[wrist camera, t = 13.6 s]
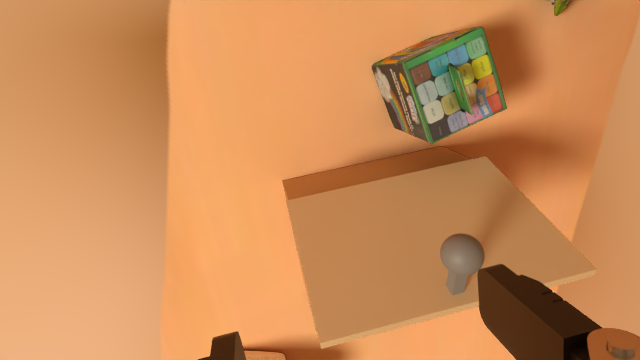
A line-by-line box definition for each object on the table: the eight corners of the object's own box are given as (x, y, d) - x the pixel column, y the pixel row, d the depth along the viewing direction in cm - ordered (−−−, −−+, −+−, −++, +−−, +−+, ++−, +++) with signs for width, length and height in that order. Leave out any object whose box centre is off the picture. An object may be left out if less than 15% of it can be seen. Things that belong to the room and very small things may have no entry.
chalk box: (455, 101, 51) (532, 113, 37) (393, 130, 51) (447, 154, 37) (434, 33, 48) (509, 18, 34) (368, 63, 48) (416, 60, 34)
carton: (282, 180, 50) (289, 206, 41) (441, 146, 53) (482, 163, 43) (305, 286, 55) (316, 331, 46) (449, 250, 57) (488, 285, 48)
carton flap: (287, 206, 41) (277, 157, 37) (484, 161, 43) (495, 111, 39) (321, 348, 28) (311, 298, 24) (594, 275, 31) (626, 218, 27)
